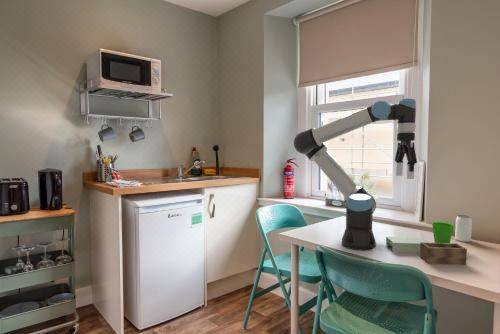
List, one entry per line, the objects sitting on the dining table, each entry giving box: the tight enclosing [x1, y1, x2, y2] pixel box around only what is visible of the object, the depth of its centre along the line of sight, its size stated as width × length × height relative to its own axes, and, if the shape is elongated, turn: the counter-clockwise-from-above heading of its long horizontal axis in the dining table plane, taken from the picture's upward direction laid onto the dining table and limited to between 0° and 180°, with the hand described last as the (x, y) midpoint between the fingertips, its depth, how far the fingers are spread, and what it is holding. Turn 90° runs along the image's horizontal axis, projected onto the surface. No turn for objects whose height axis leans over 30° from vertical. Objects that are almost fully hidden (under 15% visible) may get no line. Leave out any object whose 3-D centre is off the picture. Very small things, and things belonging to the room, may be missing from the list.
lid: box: [385, 236, 431, 254], centre depth 136 cm, size 16×9×4 cm, turn 83°
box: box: [419, 242, 468, 266], centre depth 122 cm, size 14×7×7 cm, turn 83°
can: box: [454, 214, 473, 243], centre depth 151 cm, size 6×6×12 cm
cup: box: [431, 221, 455, 243], centre depth 140 cm, size 9×9×11 cm
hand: (404, 177), depth 145 cm, fingers open, 13 cm apart
